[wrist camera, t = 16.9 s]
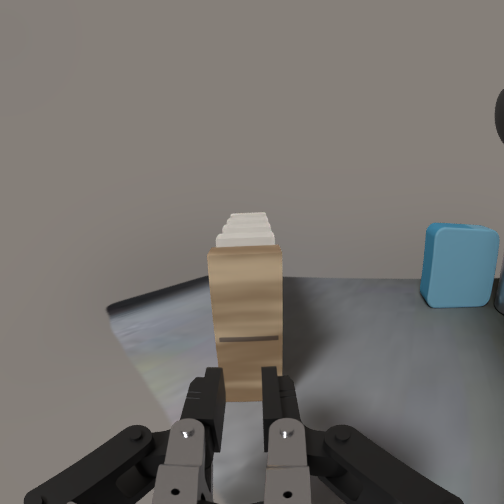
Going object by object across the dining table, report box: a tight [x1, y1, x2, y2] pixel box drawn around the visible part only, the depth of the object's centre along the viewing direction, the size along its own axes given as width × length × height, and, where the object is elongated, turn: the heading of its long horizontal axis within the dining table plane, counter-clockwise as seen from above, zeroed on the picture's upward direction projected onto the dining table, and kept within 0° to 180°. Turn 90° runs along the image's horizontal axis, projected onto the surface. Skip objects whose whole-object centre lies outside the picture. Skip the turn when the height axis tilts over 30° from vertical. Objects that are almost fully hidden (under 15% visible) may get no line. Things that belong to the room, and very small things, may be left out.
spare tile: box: [207, 245, 283, 402], centre depth 22 cm, size 2×5×13 cm, turn 91°
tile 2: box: [216, 232, 275, 247], centre depth 28 cm, size 2×5×13 cm, turn 90°
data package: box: [420, 223, 499, 308], centre depth 35 cm, size 12×4×12 cm, turn 75°
